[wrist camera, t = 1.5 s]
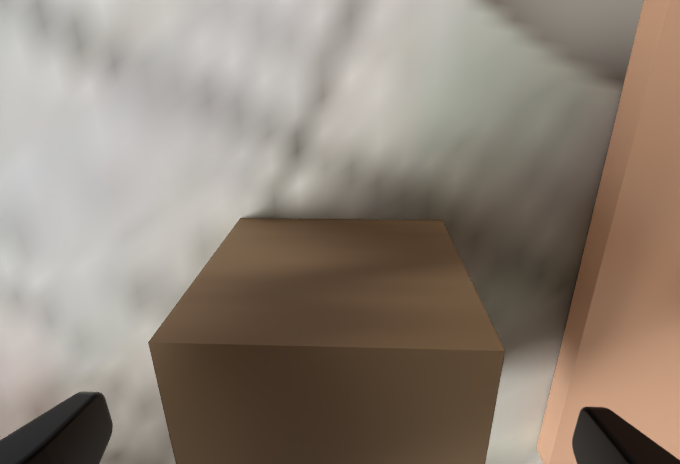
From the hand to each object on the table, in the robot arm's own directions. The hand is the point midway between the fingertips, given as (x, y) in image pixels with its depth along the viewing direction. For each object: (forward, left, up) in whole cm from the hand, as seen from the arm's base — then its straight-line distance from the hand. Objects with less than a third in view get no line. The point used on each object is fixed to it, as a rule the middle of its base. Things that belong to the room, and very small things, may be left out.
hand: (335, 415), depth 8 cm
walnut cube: (0, 0, -4) cm, 4 cm away
